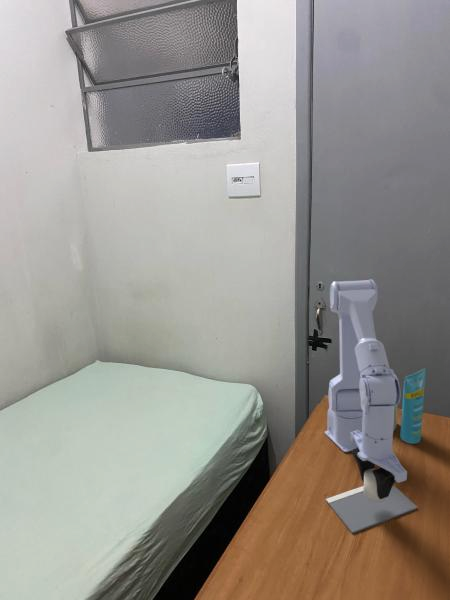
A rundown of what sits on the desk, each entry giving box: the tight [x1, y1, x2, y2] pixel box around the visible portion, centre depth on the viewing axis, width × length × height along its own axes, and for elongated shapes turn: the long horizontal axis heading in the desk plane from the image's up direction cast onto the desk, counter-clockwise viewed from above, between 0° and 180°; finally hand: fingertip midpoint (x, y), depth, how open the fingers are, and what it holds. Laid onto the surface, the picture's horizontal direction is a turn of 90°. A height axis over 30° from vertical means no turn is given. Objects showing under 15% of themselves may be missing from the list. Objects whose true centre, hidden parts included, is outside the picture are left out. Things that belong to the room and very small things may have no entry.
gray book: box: [325, 484, 418, 534], centre depth 87 cm, size 10×16×1 cm, turn 109°
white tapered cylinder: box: [363, 468, 386, 502], centre depth 84 cm, size 4×4×4 cm
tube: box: [399, 367, 426, 445], centre depth 104 cm, size 7×5×19 cm, turn 123°
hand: (375, 488), depth 84 cm, fingers closed on white tapered cylinder, 4 cm apart
